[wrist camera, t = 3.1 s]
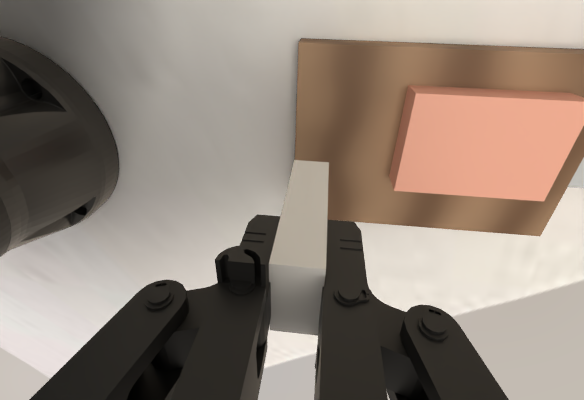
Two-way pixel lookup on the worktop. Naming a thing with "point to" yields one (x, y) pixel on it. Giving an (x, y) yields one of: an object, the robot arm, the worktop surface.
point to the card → (484, 141)
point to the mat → (578, 177)
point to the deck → (387, 116)
